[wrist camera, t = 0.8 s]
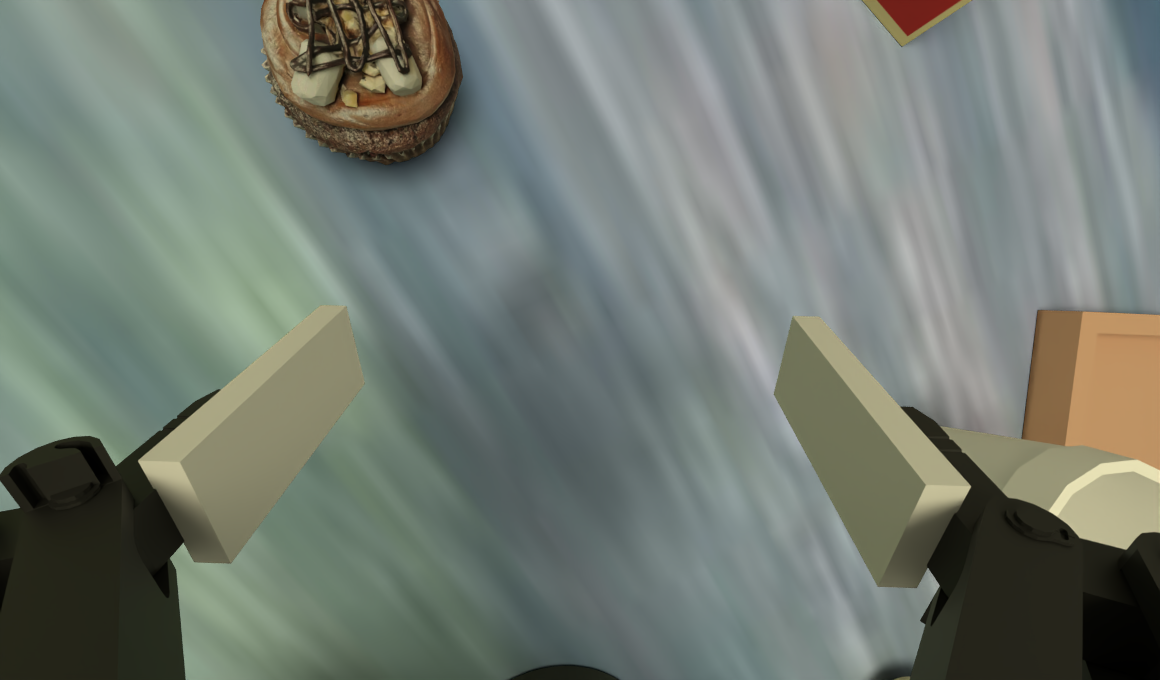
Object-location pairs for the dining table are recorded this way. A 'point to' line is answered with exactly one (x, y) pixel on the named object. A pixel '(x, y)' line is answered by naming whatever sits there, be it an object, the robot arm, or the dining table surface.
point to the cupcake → (363, 73)
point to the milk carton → (912, 15)
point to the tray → (1096, 383)
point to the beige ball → (903, 678)
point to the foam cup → (1071, 484)
